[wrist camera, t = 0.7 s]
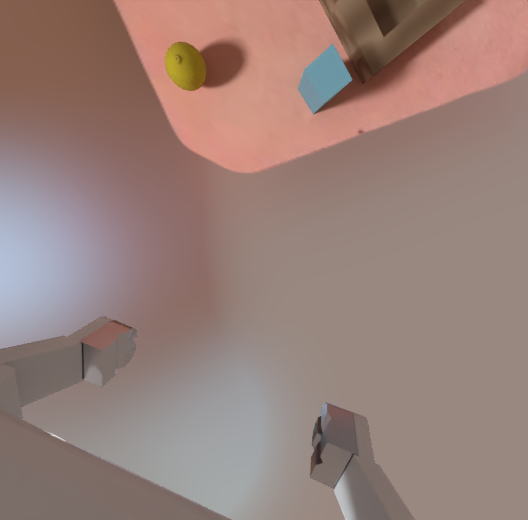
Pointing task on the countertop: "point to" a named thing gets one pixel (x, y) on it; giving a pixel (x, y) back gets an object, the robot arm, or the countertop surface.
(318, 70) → the blue square pillar
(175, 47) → the lemon
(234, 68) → the countertop surface
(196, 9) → the countertop surface
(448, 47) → the countertop surface
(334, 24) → the well block
